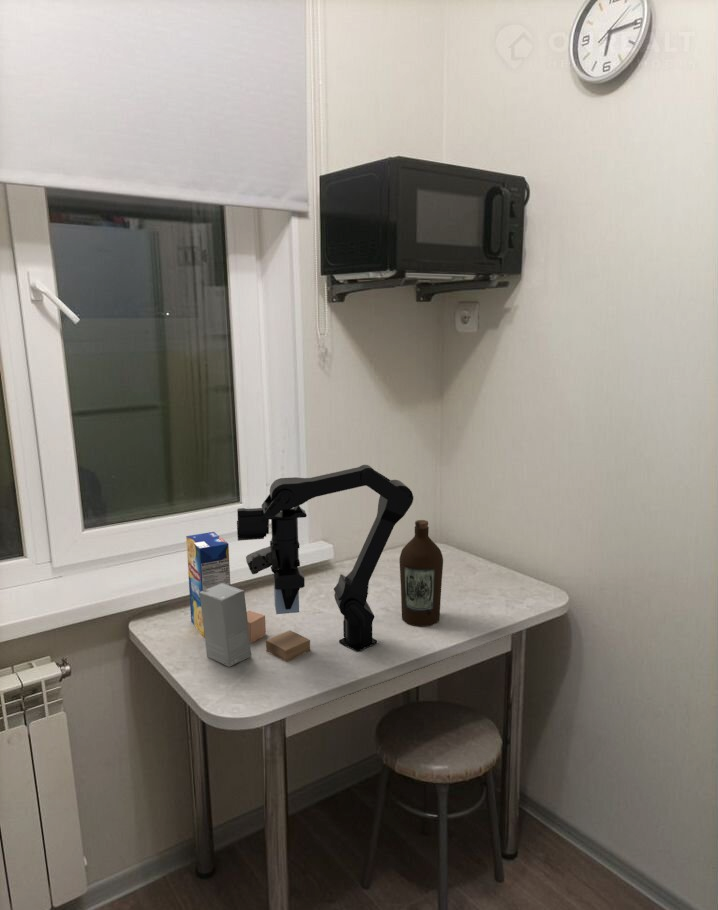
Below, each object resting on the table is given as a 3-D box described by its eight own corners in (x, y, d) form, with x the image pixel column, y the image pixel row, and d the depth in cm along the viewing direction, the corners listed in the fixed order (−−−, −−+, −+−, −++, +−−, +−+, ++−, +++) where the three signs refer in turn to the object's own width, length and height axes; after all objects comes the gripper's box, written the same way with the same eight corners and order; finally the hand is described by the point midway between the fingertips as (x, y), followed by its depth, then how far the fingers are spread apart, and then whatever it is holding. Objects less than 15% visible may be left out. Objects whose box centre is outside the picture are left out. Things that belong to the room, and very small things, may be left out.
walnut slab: (310, 652, 153) (310, 639, 153) (285, 663, 149) (285, 650, 148) (290, 642, 158) (290, 630, 158) (266, 652, 153) (265, 640, 153)
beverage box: (204, 638, 160) (199, 548, 155) (191, 621, 169) (186, 535, 165) (232, 631, 163) (228, 543, 159) (217, 615, 172) (213, 531, 168)
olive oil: (402, 608, 176) (402, 514, 171) (443, 611, 174) (445, 516, 169) (396, 626, 165) (396, 526, 161) (440, 629, 163) (441, 529, 158)
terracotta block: (265, 635, 161) (265, 615, 161) (251, 643, 157) (250, 623, 156) (249, 630, 164) (248, 610, 163) (235, 638, 160) (234, 618, 159)
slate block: (274, 605, 154) (273, 579, 153) (296, 603, 155) (296, 578, 154) (276, 614, 149) (275, 588, 148) (299, 612, 150) (298, 586, 149)
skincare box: (252, 657, 150) (249, 589, 147) (225, 669, 145) (222, 599, 142) (228, 645, 156) (225, 580, 153) (202, 657, 151) (198, 589, 148)
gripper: (246, 526, 156) (248, 591, 159) (249, 553, 138) (252, 625, 141) (294, 523, 158) (296, 587, 161) (304, 549, 140) (305, 620, 143)
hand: (287, 604), depth 152 cm, fingers closed on slate block, 5 cm apart
